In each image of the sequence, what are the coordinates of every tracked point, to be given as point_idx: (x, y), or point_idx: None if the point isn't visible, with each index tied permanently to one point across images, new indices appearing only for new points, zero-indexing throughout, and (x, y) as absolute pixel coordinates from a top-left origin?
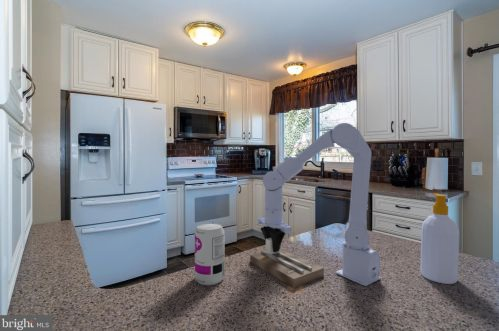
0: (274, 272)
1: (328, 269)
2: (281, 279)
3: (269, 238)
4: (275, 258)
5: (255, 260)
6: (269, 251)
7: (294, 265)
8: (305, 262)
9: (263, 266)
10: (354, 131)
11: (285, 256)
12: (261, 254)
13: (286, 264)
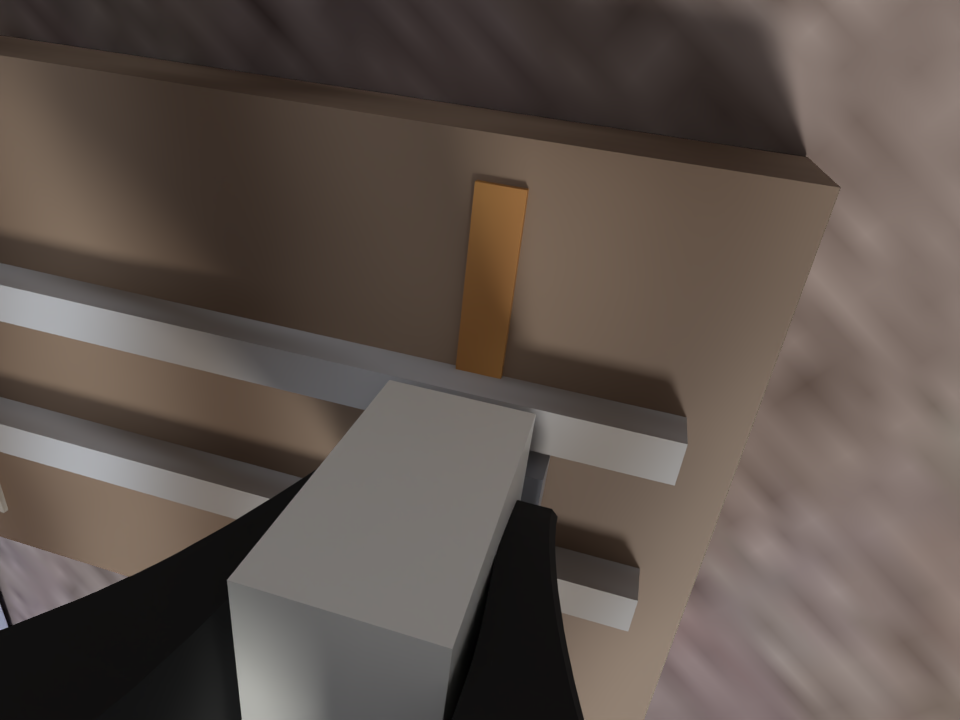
0: (110, 59)
1: (69, 584)
2: (13, 38)
3: (401, 713)
4: (275, 343)
5: (618, 141)
6: (395, 412)
7: (41, 365)
8: (66, 514)
9: (377, 100)
10: None
11: (237, 487)
12: (643, 372)
13: (39, 283)
